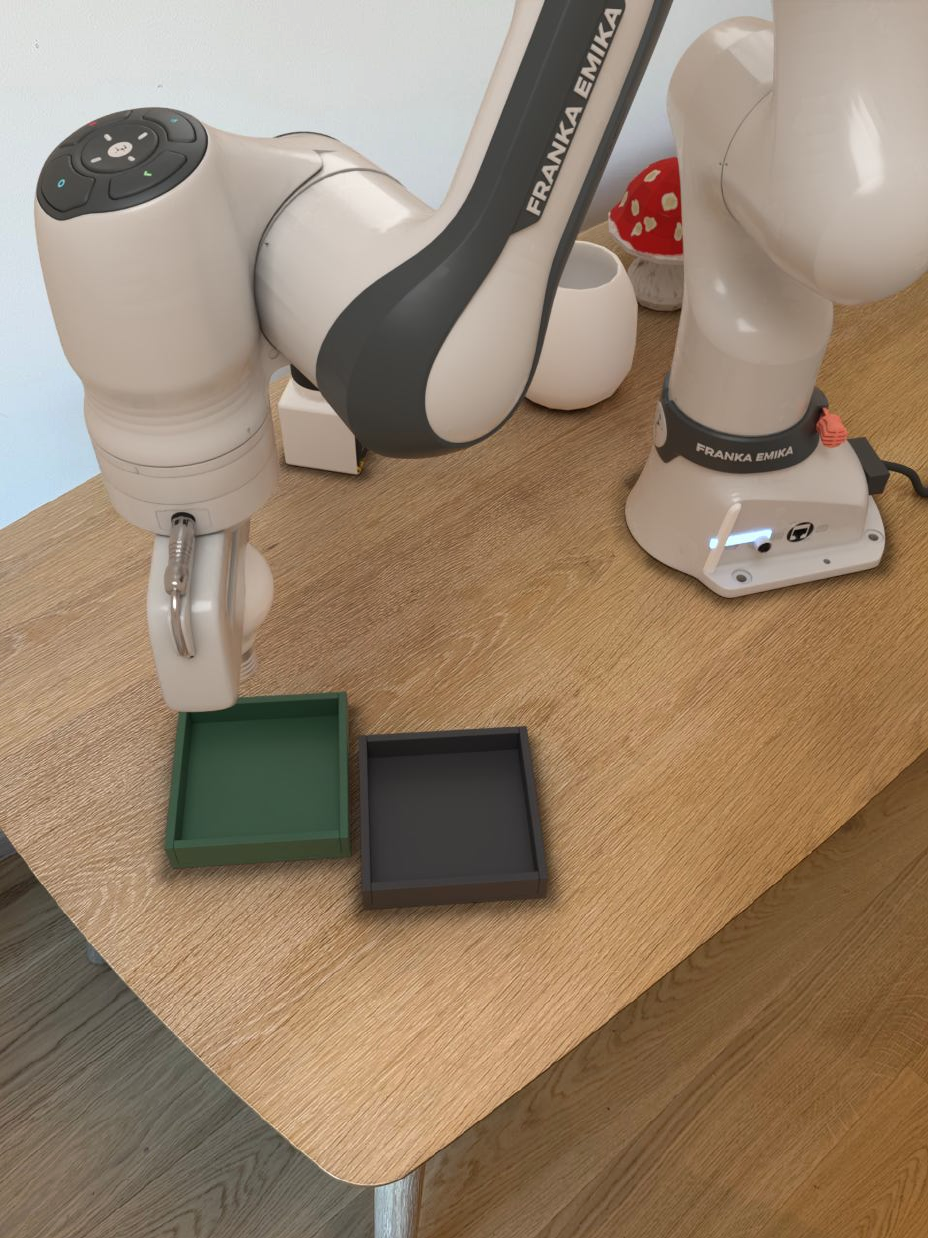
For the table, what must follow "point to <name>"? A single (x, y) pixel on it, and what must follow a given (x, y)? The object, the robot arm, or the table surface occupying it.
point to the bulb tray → (261, 782)
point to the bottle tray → (449, 818)
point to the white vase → (587, 332)
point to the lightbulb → (255, 606)
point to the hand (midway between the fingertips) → (228, 628)
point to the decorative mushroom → (653, 235)
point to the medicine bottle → (316, 430)
